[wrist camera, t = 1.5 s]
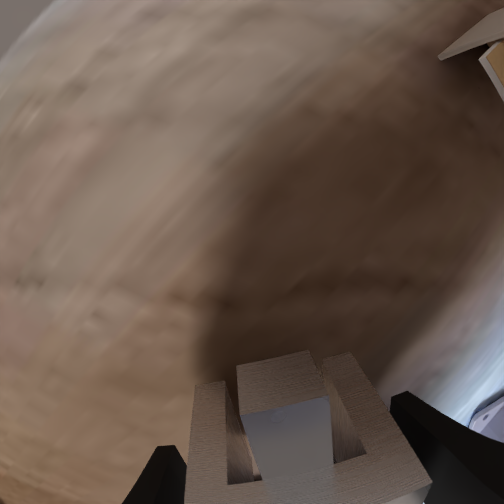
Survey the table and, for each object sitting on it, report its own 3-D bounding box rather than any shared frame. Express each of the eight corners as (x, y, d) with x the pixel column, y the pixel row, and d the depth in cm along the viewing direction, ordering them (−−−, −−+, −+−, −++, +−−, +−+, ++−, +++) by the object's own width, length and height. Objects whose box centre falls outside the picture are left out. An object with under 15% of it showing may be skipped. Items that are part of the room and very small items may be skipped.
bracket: (350, 351, 10) (432, 482, 4) (351, 433, 11) (401, 542, 5) (195, 385, 10) (182, 540, 4) (227, 461, 11) (233, 581, 5)
